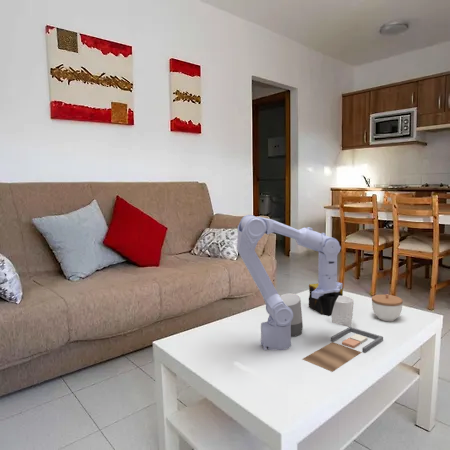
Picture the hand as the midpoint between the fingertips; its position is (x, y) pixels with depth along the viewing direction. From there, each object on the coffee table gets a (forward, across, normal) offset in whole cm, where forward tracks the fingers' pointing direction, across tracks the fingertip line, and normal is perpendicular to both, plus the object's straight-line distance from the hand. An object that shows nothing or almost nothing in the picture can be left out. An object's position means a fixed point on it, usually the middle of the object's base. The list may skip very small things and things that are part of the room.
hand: (327, 315), depth 116 cm
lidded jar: (+10, +35, -3) cm, 37 cm away
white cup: (+10, +17, +5) cm, 21 cm away
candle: (+10, +28, +19) cm, 35 cm away
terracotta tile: (+10, +2, -7) cm, 12 cm away
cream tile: (+10, +7, -7) cm, 14 cm away
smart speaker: (+10, -3, +13) cm, 17 cm away
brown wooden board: (+10, -8, -7) cm, 15 cm away
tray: (+10, +6, -7) cm, 13 cm away
